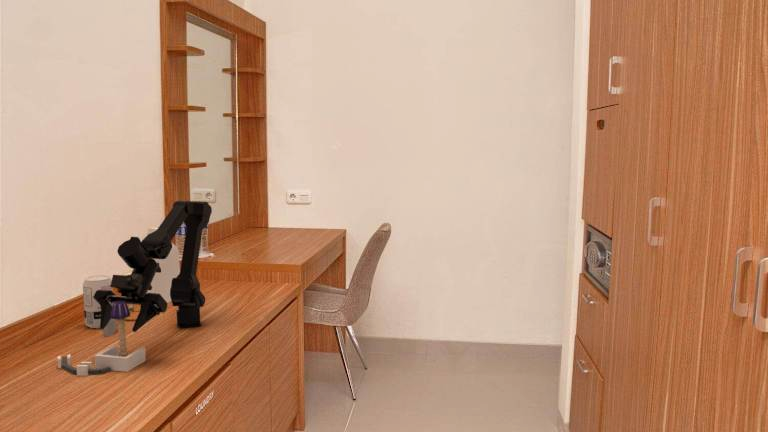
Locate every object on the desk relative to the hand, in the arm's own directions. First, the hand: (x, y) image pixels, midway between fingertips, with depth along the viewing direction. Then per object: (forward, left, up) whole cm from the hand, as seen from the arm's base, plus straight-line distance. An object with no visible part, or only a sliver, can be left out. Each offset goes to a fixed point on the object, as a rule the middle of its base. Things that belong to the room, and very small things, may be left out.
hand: (117, 329), depth 153 cm
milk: (-12, -63, -10) cm, 65 cm away
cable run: (+8, -2, -10) cm, 13 cm away
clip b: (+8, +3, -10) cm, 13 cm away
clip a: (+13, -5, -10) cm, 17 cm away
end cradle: (-1, -1, -10) cm, 10 cm away
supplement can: (+6, -38, -10) cm, 40 cm away
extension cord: (-5, -46, -10) cm, 48 cm away
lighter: (+2, -29, -10) cm, 31 cm away
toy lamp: (-1, -1, -10) cm, 10 cm away
